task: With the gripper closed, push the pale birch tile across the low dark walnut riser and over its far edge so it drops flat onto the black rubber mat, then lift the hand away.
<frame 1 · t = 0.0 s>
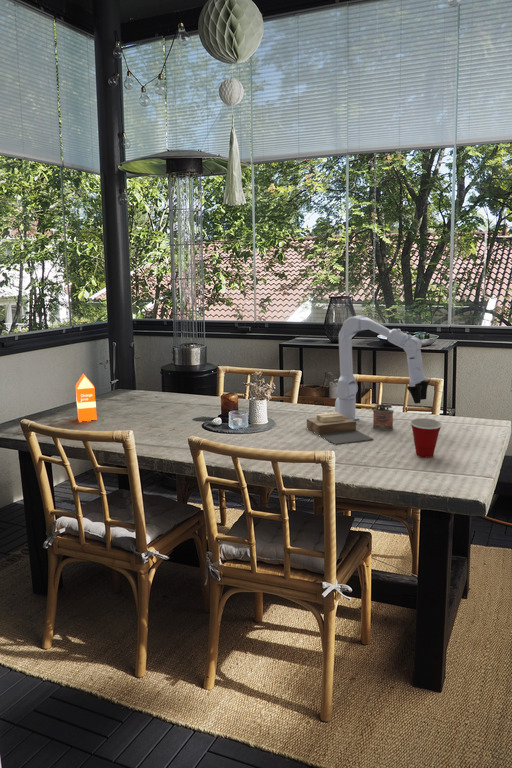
hand: (420, 401, 266), 11 cm above the table, tool pointing down, fingers open, 7 cm apart
plastic cup: (425, 456, 231), on the table
orange juice: (87, 419, 294), on the table
lighter: (382, 428, 267), on the table
walnut riser: (331, 429, 267), on the table
birch tile: (330, 419, 267), point 4 cm above the table, touching walnut riser
rubber mat: (345, 437, 255), on the table
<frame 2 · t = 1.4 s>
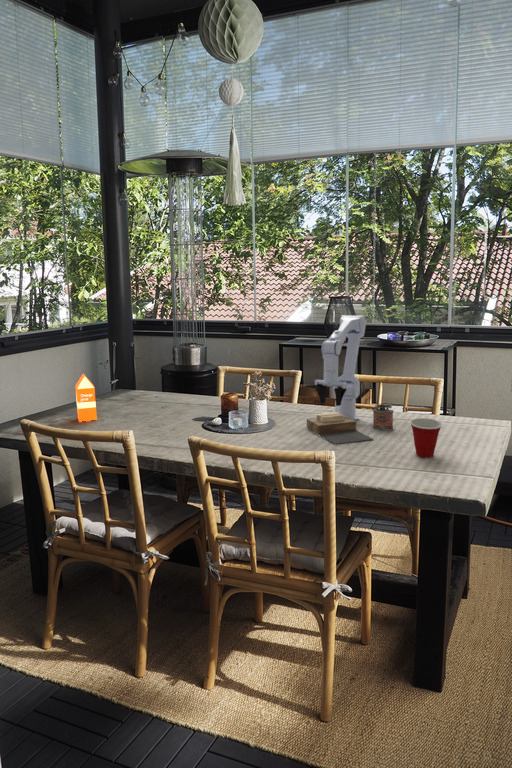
hand: (330, 404, 267), 10 cm above the table, tool pointing down, fingers open, 7 cm apart
nothing on the table moved.
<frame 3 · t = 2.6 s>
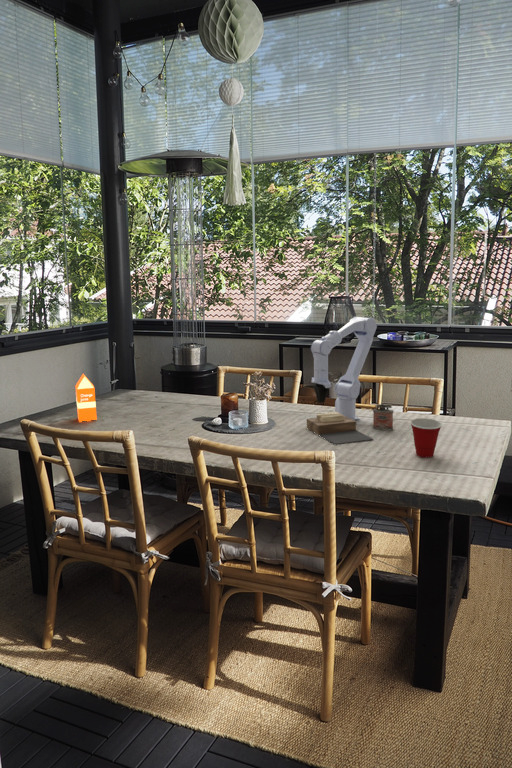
hand: (321, 402, 274), 9 cm above the table, tool pointing down, fingers closed
nothing on the table moved.
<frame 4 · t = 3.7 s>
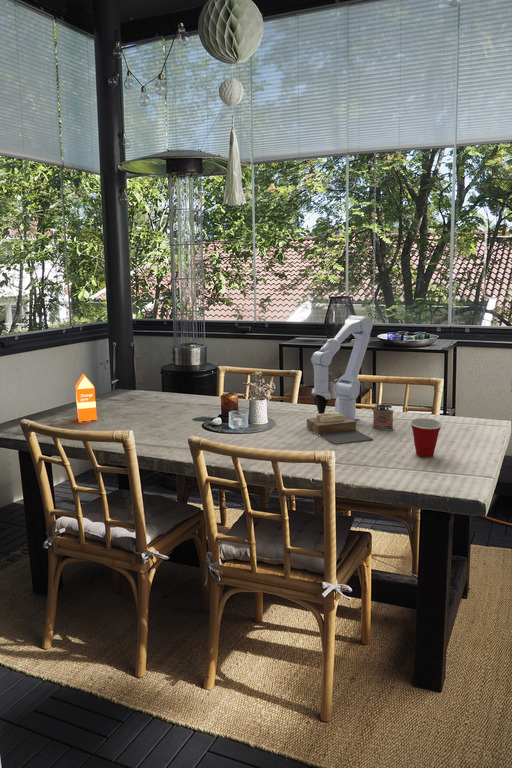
hand: (321, 413, 274), 5 cm above the table, tool pointing down, fingers closed
nothing on the table moved.
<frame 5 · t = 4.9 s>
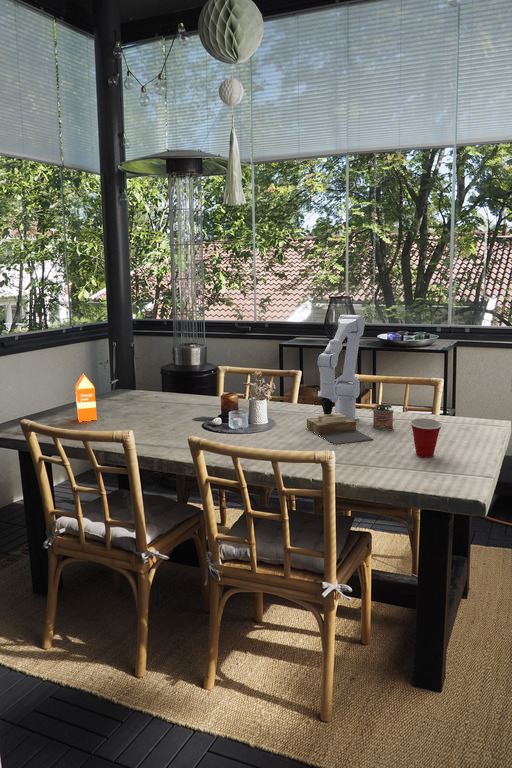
hand: (327, 416, 269), 5 cm above the table, tool pointing down, fingers closed
birch tile: (331, 420, 265), point 4 cm above the table, touching gripper, walnut riser
everything else where it was.
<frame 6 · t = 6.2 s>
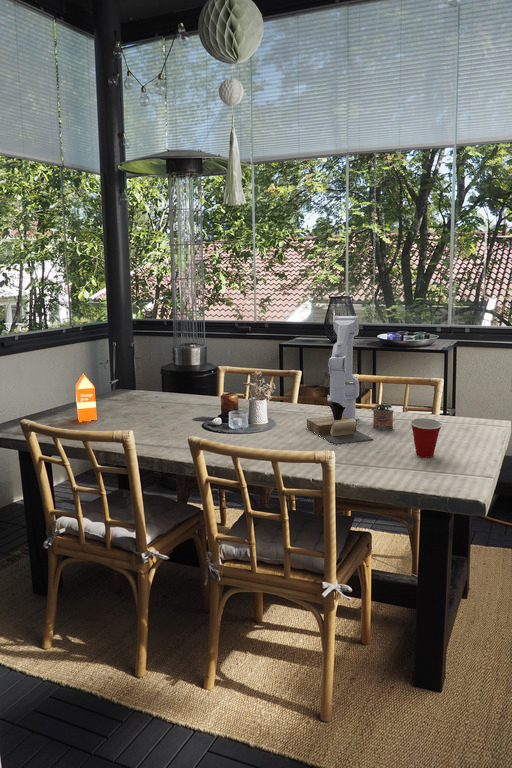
hand: (337, 421, 260), 5 cm above the table, tool pointing down, fingers closed
birch tile: (342, 425, 257), point 4 cm above the table, tilted 113°, touching rubber mat
everything else where it was.
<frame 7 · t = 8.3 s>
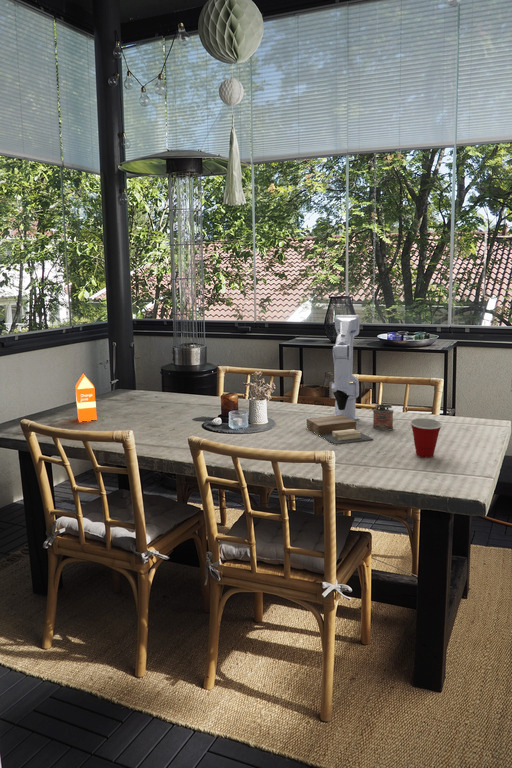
hand: (341, 409, 261), 9 cm above the table, tool pointing down, fingers closed
birch tile: (346, 431, 254), point 2 cm above the table, tilted 180°, touching rubber mat
everything else where it was.
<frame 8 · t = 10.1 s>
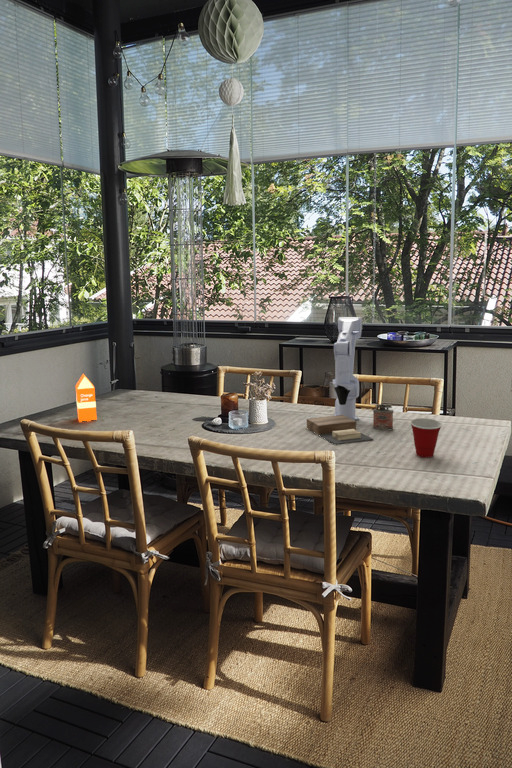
hand: (342, 404, 269), 9 cm above the table, tool pointing down, fingers closed
nothing on the table moved.
at the end: birch tile inside the target area (0.4 cm from its centre), point 2.5 cm above the table; birch tile moved 14.7 cm from its start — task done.
